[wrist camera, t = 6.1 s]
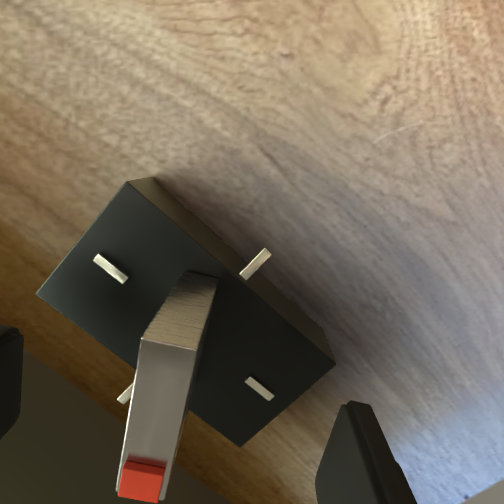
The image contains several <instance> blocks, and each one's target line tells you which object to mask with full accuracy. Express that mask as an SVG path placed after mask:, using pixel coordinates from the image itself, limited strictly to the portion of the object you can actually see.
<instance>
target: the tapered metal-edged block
mask: <svg viewBox="0 0 504 504" xmlns="http://www.w3.org/2000/svg"><path fill="white" fill-rule="evenodd" d="M218 281H219V279H218V278H214V277H209V276H205V275H201V274H196V273H192V272H188V271H183V273H182V274H181V276H180V277H179V279H178V281H177V282H176V284H175V285H174V287H173V288H172V290H171V292H170V293H169V295H168V296H167V298H166V299H165V301H164V303H163V304H162V306H161V307H160V309H159V310H158V312H157V314H156V315H155V317H154V318H153V320H152V321H151V323H150V325H149V326H148V328H147V329H146V331H145V332H144V334H143V336H142V337H141V341H140V347H139V353H138V359H137V365H136V371H135V377H134V383H133V389H132V394H131V400H130V406H129V412H128V418H127V424H126V431H125V437H124V442H123V448H122V455H121V460H120V467H119V473H118V479H117V484H116V491H117V492H118V496H121V497H126V498H132V499H137V500H142V501H147V502H153V503H158V500H164V499H165V496H166V492H167V488H168V485H169V481H170V477H171V473H172V469H173V466H174V462H175V458H176V455H177V451H178V447H179V443H180V440H181V436H182V432H183V428H184V425H185V421H186V417H187V413H188V410H189V406H190V402H191V398H192V395H193V391H194V387H195V383H196V379H197V374H198V370H199V365H200V361H201V356H202V352H203V348H204V343H205V339H206V334H207V330H208V326H209V321H210V317H211V312H212V308H213V303H214V299H215V295H216V290H217V286H218Z"/></svg>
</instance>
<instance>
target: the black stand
mask: <svg viewBox="0 0 504 504" xmlns="http://www.w3.org/2000/svg"><path fill="white" fill-rule="evenodd" d="M270 256H271V253H270V252H269V251H268V250H267V249H266V248H264V249H263V250H262V251H261V252H260V253H259V254H258V255H257V256H256V257H255V258H254V259H253V260H252V261H251V262H250V263H248V262H247V261H246V260H245V259H243V258H242V257H241V256H240V255H239V254H238V253H237V252H236V251H234V250H233V249H232V248H231V247H230V246H229V245H228V244H227V243H225V242H224V241H223V240H222V239H221V238H220V237H219V236H218V235H216V234H215V233H214V232H213V231H212V230H211V229H210V228H208V227H207V226H206V225H205V224H204V223H203V222H202V221H201V220H199V219H198V218H197V217H196V216H195V215H194V214H193V213H192V212H190V211H189V210H188V209H187V208H186V207H185V206H184V205H183V204H181V203H180V202H179V201H178V200H177V199H176V198H175V197H174V196H172V195H171V194H170V193H169V192H168V191H167V190H166V189H165V188H163V187H162V186H161V185H160V184H159V183H158V182H157V181H156V180H154V179H153V178H152V177H148V178H142V179H137V180H131V181H126V182H125V183H124V185H123V186H122V187H121V188H120V190H119V191H118V192H117V193H116V195H115V196H114V197H113V198H112V200H111V201H110V202H109V203H108V204H107V206H106V207H105V208H104V209H103V211H102V212H101V213H100V214H99V216H98V217H97V218H96V219H95V221H94V222H93V223H92V224H91V225H90V227H89V228H88V229H87V230H86V232H85V233H84V234H83V235H82V237H81V238H80V239H79V240H78V242H77V243H76V244H75V245H74V246H73V248H72V249H71V250H70V251H69V253H68V254H67V255H66V256H65V258H64V259H63V260H62V261H61V263H60V264H59V265H58V266H57V267H56V269H55V270H54V271H53V272H52V274H51V275H50V276H49V277H48V279H47V280H46V281H45V282H44V283H43V285H42V286H41V287H40V288H39V290H38V291H37V292H36V295H37V296H39V297H40V298H41V299H43V300H44V301H45V302H47V303H48V304H49V305H51V306H52V307H53V308H55V309H56V310H57V311H59V312H60V313H61V314H63V315H64V316H65V317H67V318H68V319H69V320H71V321H72V322H73V323H75V324H76V325H77V326H79V327H80V328H81V329H83V330H84V331H85V332H87V333H88V334H89V335H91V336H92V337H93V338H95V339H96V340H97V341H99V342H100V343H101V344H103V345H104V346H105V347H107V348H108V349H109V350H111V351H112V352H113V353H115V354H116V355H117V356H119V357H120V358H121V359H123V360H124V361H125V362H127V363H128V364H129V365H131V366H132V367H133V368H135V369H136V365H137V359H138V353H139V347H140V341H141V337H142V336H143V334H144V332H145V331H146V329H147V328H148V326H149V325H150V323H151V321H152V320H153V318H154V317H155V315H156V314H157V312H158V310H159V309H160V307H161V306H162V304H163V303H164V301H165V299H166V298H167V296H168V295H169V293H170V292H171V290H172V288H173V287H174V285H175V284H176V282H177V281H178V279H179V277H180V276H181V274H182V273H183V271H188V272H192V273H196V274H201V275H205V276H209V277H214V278H218V279H219V281H218V286H217V290H216V295H215V299H214V303H213V308H212V312H211V317H210V321H209V326H208V330H207V334H206V339H205V343H204V348H203V352H202V356H201V361H200V365H199V370H198V374H197V379H196V383H195V387H194V391H193V395H192V398H191V402H190V406H189V410H190V411H192V412H193V413H194V414H196V415H197V416H198V417H200V418H201V419H202V420H204V421H205V422H206V423H208V424H209V425H210V426H212V427H213V428H214V429H216V430H217V431H218V432H220V433H221V434H222V435H224V436H225V437H226V438H228V439H229V440H230V441H232V442H233V443H234V444H236V445H237V446H238V447H242V446H243V445H244V444H245V443H246V442H247V441H248V440H250V439H251V438H252V437H253V436H254V435H255V434H257V433H258V432H259V431H260V430H261V429H262V428H263V427H265V426H266V425H267V424H268V423H269V422H270V421H272V420H273V419H274V418H275V417H276V416H277V415H278V414H280V413H281V412H282V411H283V410H284V409H285V408H287V407H288V406H289V405H290V404H291V403H292V402H294V401H295V400H296V399H297V398H298V397H299V396H300V395H302V394H303V393H304V392H305V391H306V390H307V389H309V388H310V387H311V386H312V385H313V384H314V383H315V382H317V381H318V380H319V379H320V378H321V377H322V376H324V375H325V374H326V373H327V372H328V371H329V370H330V369H332V368H333V367H334V366H335V365H336V362H335V359H334V357H333V354H332V351H331V349H330V346H329V344H328V341H327V339H326V336H325V334H324V331H323V329H322V328H321V327H320V326H319V325H318V324H317V323H315V322H314V321H313V320H312V319H311V318H310V317H309V316H308V315H306V314H305V313H304V312H303V311H302V310H301V309H300V308H299V307H297V306H296V305H295V304H294V303H293V302H292V301H291V300H290V299H288V298H287V297H286V296H285V295H284V294H283V293H282V292H281V291H279V290H278V289H277V288H276V287H275V286H274V285H273V284H272V283H270V282H269V281H268V280H267V279H266V278H265V277H264V276H263V275H261V274H260V273H259V272H258V271H257V269H258V268H259V267H260V266H261V265H262V264H263V263H264V262H265V261H266V260H267V259H268V258H269V257H270ZM133 383H134V382H133ZM133 383H132V384H131V385H130V386H129V387H128V388H127V389H126V390H125V391H124V392H123V393H122V394H121V395H120V396H119V397H118V399H117V400H118V401H119V402H121V403H122V404H125V403H126V402H127V401H128V399H129V398H130V397H131V394H132V389H133Z"/></svg>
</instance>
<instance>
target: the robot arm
mask: <svg viewBox="0 0 504 504" xmlns="http://www.w3.org/2000/svg"><path fill="white" fill-rule="evenodd" d="M23 343H24V338H23V335H21V334H19V330H18V329H17V328H15V327H10V326H6V325H1V324H0V439H1V438H2V437H3V436H4V435H5V434H6V433H7V432H8V430H9V429H10V428H11V427H12V426H13V425H14V424H15V422H16V421H17V419H18V417H19V414H20V402H21V401H20V400H21V383H22V363H23ZM315 488H316V495H317V501H318V504H417V502H416V500H415V498H414V495H413V493H412V491H411V489H410V487H409V484H408V482H407V480H406V478H405V475H404V473H403V471H402V469H401V467H400V465H399V464H398V463H397V462H396V461H395V459H394V457H393V454H392V452H391V450H390V448H389V445H388V443H387V441H386V439H385V436H384V434H383V432H382V430H381V427H380V425H379V423H378V421H377V418H376V416H375V414H374V412H373V409H372V407H371V406H370V405H369V404H365V403H360V402H356V401H349V402H348V403H347V405H345V404H342V405H341V407H340V409H339V412H338V415H337V418H336V421H335V423H334V426H333V429H332V432H331V435H330V437H329V440H328V443H327V446H326V448H325V451H324V454H323V457H322V460H321V462H320V465H319V468H318V471H317V474H316V479H315Z"/></svg>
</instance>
